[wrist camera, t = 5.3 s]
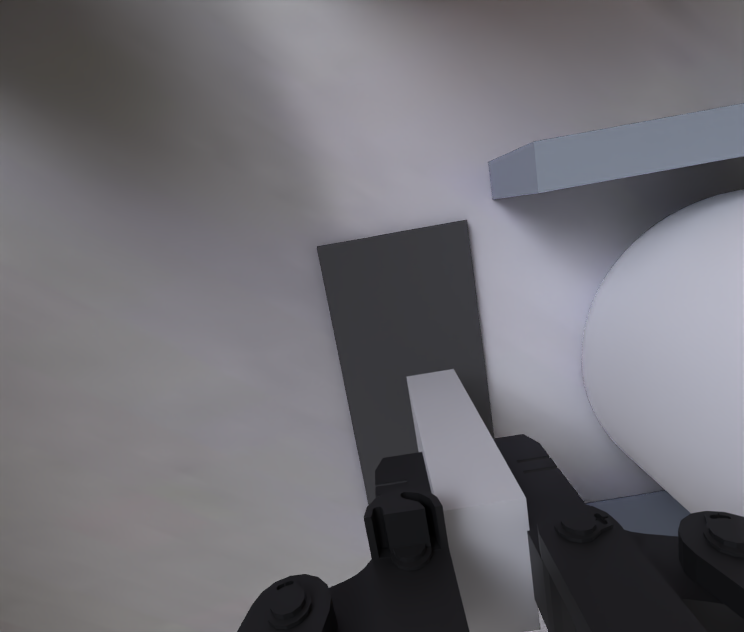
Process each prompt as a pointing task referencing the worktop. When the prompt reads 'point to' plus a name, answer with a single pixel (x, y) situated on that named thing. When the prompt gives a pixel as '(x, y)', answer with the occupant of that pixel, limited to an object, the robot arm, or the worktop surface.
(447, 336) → the mat
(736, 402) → the cup
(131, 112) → the worktop surface
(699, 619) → the robot arm
